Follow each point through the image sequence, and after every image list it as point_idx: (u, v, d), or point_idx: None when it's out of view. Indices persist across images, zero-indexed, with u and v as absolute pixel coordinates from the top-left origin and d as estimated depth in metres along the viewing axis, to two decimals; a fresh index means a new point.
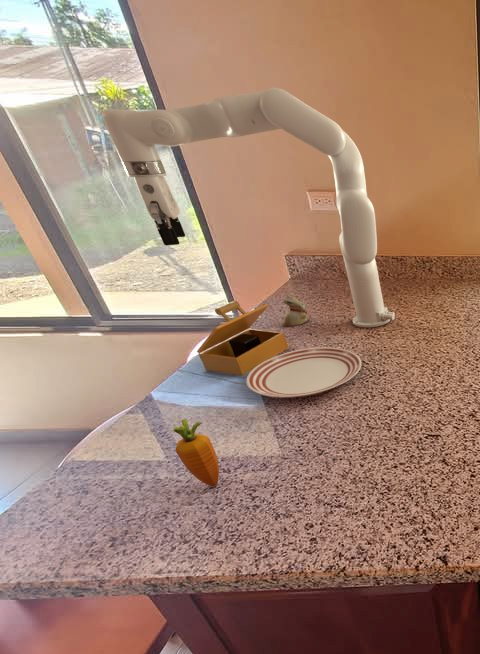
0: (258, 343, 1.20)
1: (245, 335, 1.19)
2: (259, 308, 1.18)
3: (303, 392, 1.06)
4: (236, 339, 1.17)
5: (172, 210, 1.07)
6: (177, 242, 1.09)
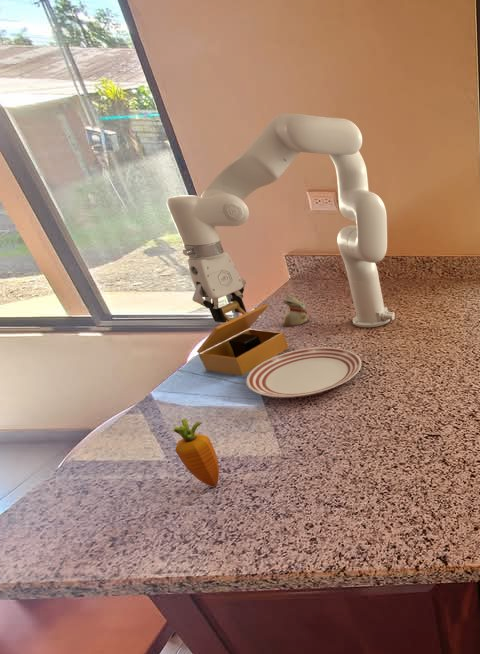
0: (258, 343, 1.20)
1: (245, 335, 1.19)
2: (259, 308, 1.18)
3: (303, 392, 1.06)
4: (236, 339, 1.17)
5: (215, 290, 1.07)
6: (223, 320, 1.11)
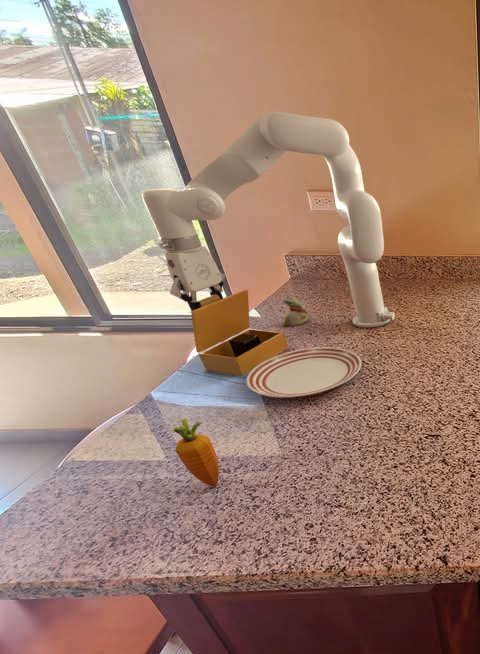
0: (258, 343, 1.20)
1: (245, 335, 1.19)
2: (237, 293, 1.17)
3: (303, 392, 1.06)
4: (236, 339, 1.17)
5: (193, 284, 1.07)
6: None
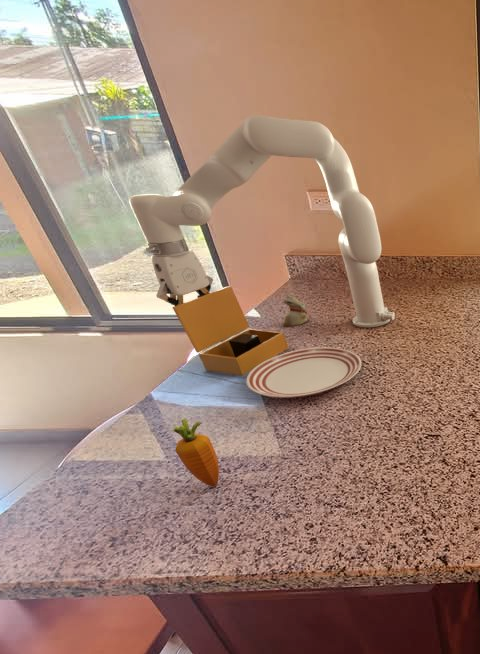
0: (258, 343, 1.20)
1: (245, 335, 1.19)
2: (220, 289, 1.18)
3: (303, 392, 1.06)
4: (236, 339, 1.17)
5: (179, 287, 1.09)
6: None
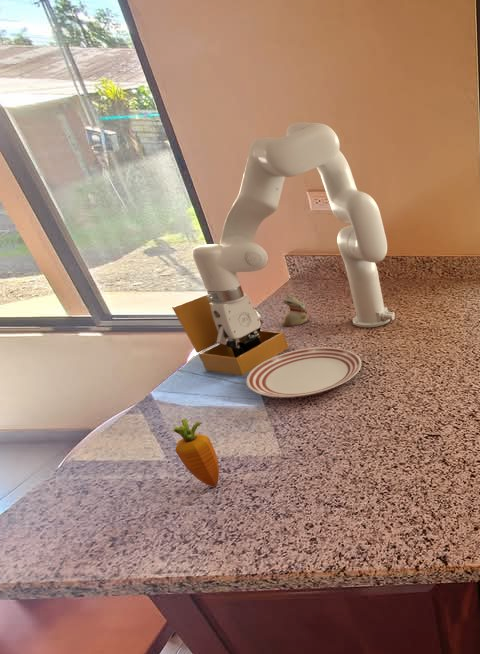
0: (258, 343, 1.20)
1: None
2: None
3: (303, 392, 1.06)
4: None
5: (236, 332, 1.12)
6: None
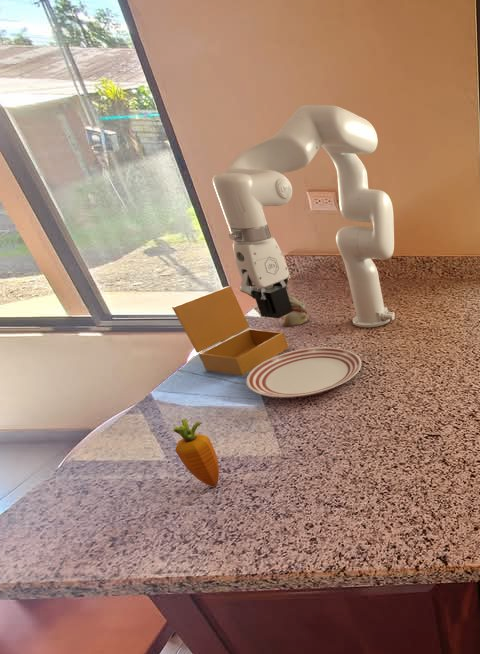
0: (285, 296, 1.05)
1: (271, 286, 1.04)
2: (220, 289, 1.18)
3: (303, 392, 1.06)
4: None
5: (262, 279, 0.97)
6: (270, 312, 1.02)
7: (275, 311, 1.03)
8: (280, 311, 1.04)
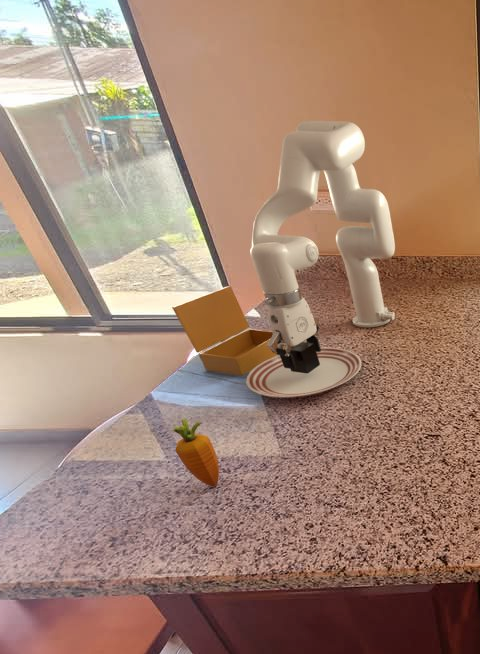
0: (314, 351, 1.11)
1: (300, 343, 1.10)
2: (220, 289, 1.18)
3: (303, 392, 1.06)
4: (291, 347, 1.08)
5: (294, 338, 1.03)
6: (293, 367, 1.06)
7: (305, 367, 1.09)
8: (309, 367, 1.10)
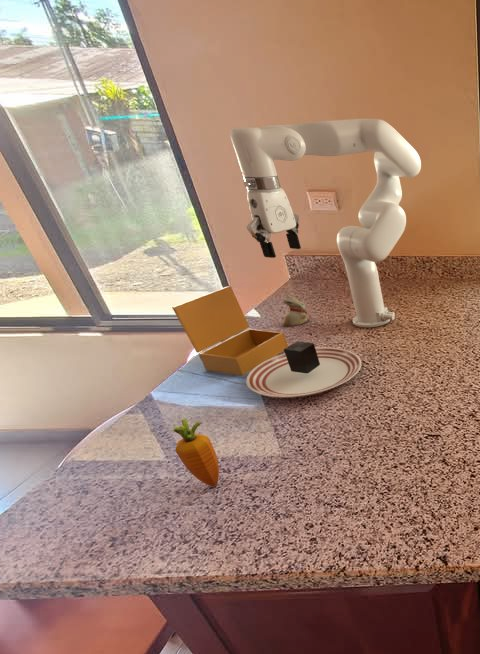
0: (314, 351, 1.11)
1: (300, 343, 1.10)
2: (220, 289, 1.18)
3: (303, 392, 1.06)
4: (291, 347, 1.08)
5: (273, 225, 1.08)
6: (273, 255, 1.11)
7: (305, 367, 1.09)
8: (309, 367, 1.10)
